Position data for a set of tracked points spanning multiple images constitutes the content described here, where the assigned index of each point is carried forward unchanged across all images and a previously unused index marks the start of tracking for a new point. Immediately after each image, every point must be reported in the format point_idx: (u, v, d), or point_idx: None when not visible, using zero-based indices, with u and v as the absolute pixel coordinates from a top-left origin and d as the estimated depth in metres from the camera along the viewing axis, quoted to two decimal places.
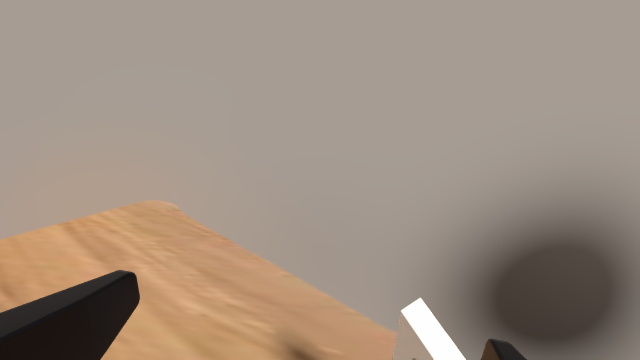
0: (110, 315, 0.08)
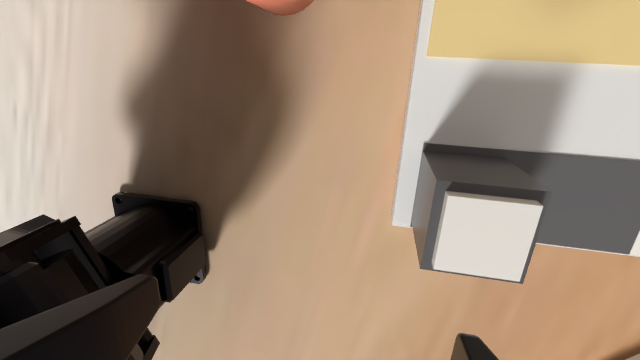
0: (133, 320, 0.08)
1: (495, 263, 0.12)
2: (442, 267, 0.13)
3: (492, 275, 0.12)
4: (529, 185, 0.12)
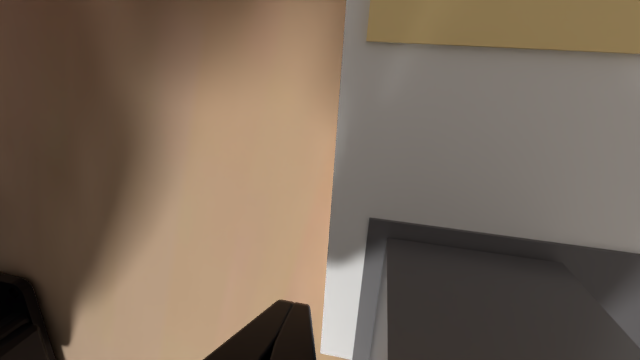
0: None
1: None
2: None
3: None
4: None
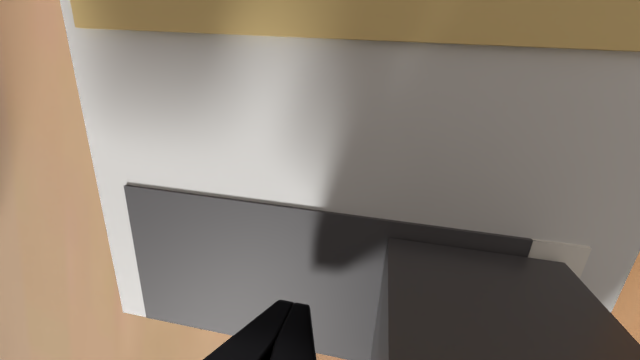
0: None
1: None
2: None
3: None
4: None
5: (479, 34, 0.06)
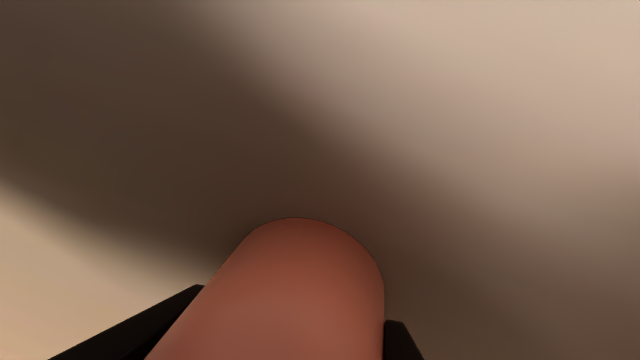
0: None
1: None
2: None
3: None
4: None
5: None
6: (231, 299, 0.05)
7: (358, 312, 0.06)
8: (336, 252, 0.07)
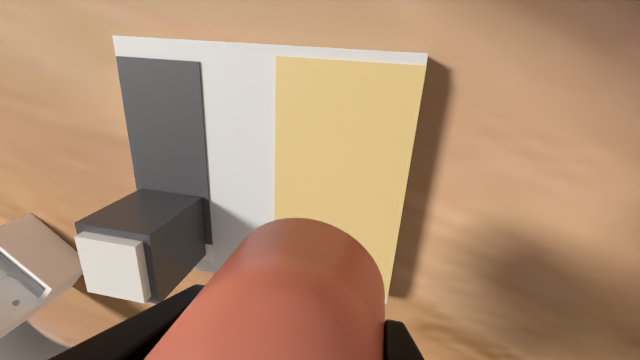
0: None
1: (95, 277, 0.16)
2: (77, 242, 0.15)
3: (85, 276, 0.16)
4: (163, 289, 0.16)
5: None
6: (230, 299, 0.05)
7: (358, 312, 0.06)
8: (336, 252, 0.07)
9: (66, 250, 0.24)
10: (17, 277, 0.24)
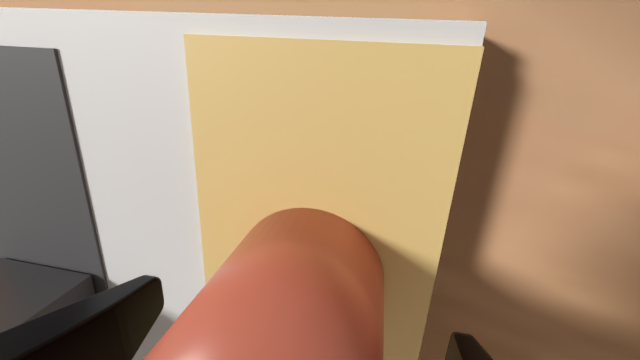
0: (137, 321, 0.08)
1: None
2: None
3: None
4: None
5: None
6: (245, 275, 0.06)
7: (360, 290, 0.07)
8: (339, 238, 0.08)
9: None
10: None
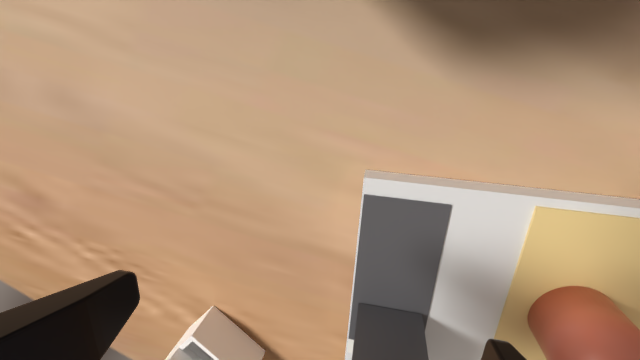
0: (110, 315, 0.08)
1: None
2: None
3: None
4: None
5: None
6: (607, 329, 0.15)
7: None
8: (613, 305, 0.16)
9: (246, 340, 0.26)
10: None
